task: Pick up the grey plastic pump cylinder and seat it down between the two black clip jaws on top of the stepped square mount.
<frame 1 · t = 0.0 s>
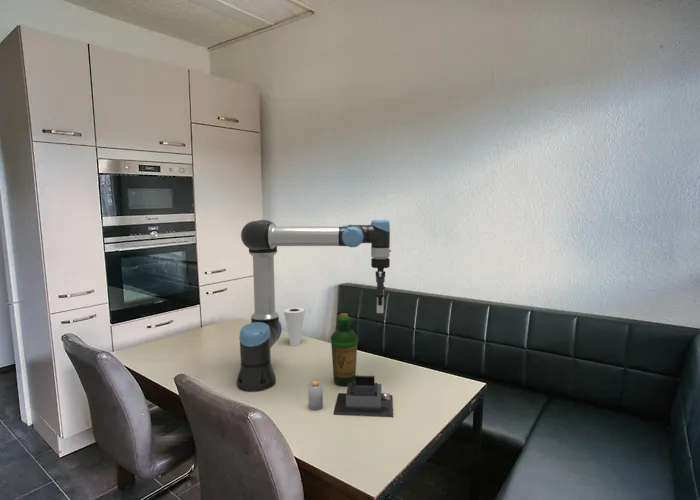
hand: (380, 308, 170), 28 cm above the table, fingers open, 13 cm apart
pump: (315, 406, 145), on the table
stepped square mount: (364, 405, 145), on the table
bottle: (344, 382, 165), on the table
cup: (295, 344, 210), on the table
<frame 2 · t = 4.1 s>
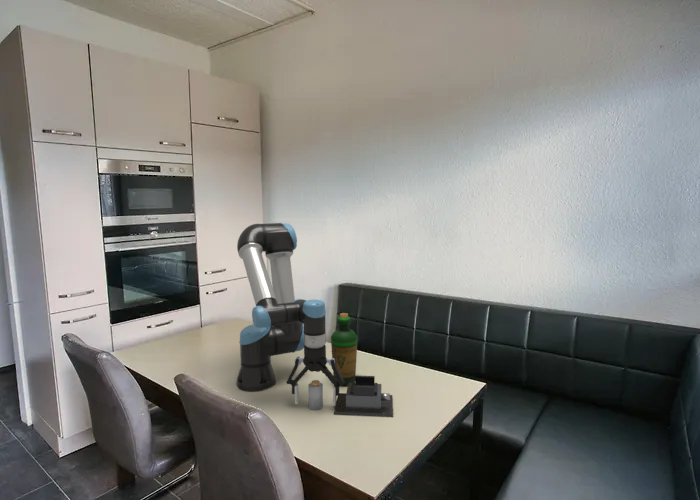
hand: (315, 403, 144), 1 cm above the table, fingers open, 13 cm apart
nothing on the table moved.
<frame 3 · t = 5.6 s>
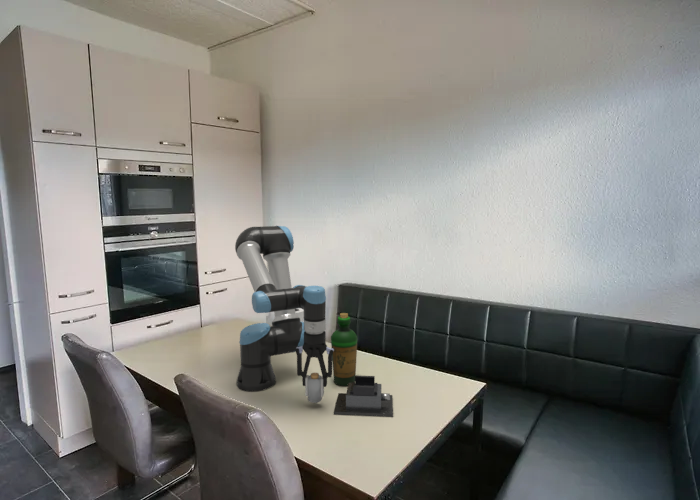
hand: (314, 394, 145), 4 cm above the table, fingers closed on pump, 5 cm apart
pump: (314, 399, 145), point 3 cm above the table, touching gripper
everything else where it was.
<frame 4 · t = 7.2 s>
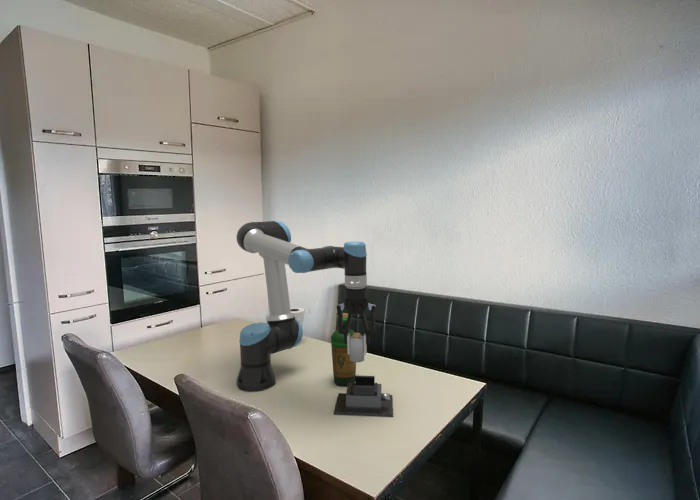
hand: (357, 352, 142), 20 cm above the table, fingers closed on pump, 5 cm apart
pump: (357, 359, 142), point 17 cm above the table, touching gripper
everything else where it was.
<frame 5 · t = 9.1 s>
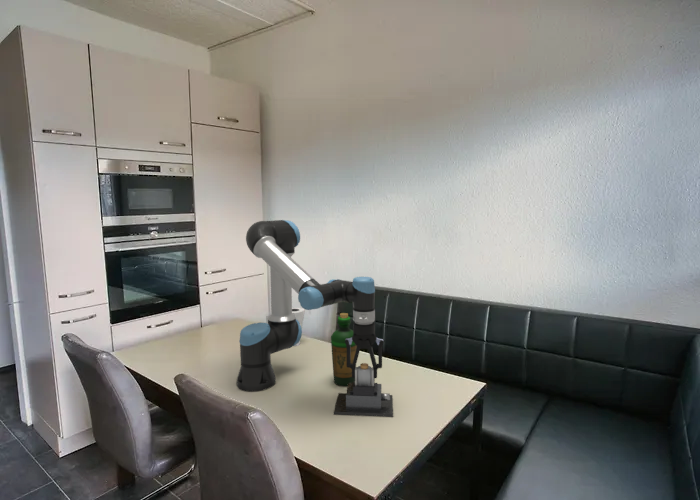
hand: (364, 386, 144), 7 cm above the table, fingers closed on pump, 5 cm apart
pump: (364, 389, 144), point 6 cm above the table, touching gripper, stepped square mount
everything else where it was.
when the fingers open (7 cm above the table, at t = 10.5 s): pump stays where it is, resting on stepped square mount.
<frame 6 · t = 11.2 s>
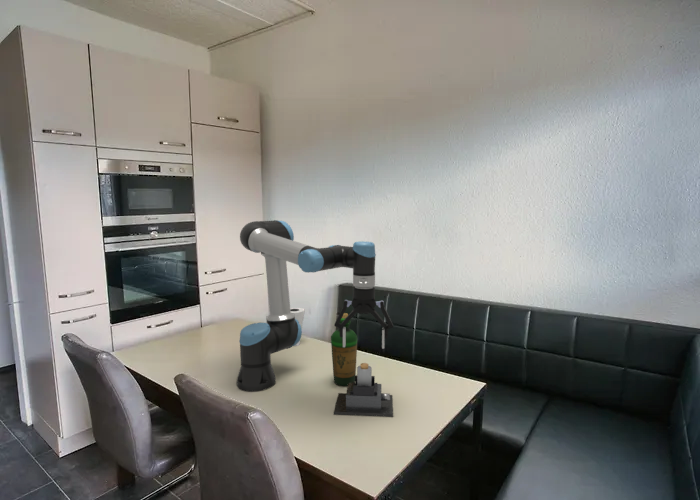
hand: (363, 346, 143), 21 cm above the table, fingers open, 13 cm apart
pump: (364, 389, 144), point 6 cm above the table, touching stepped square mount
everything else where it was.
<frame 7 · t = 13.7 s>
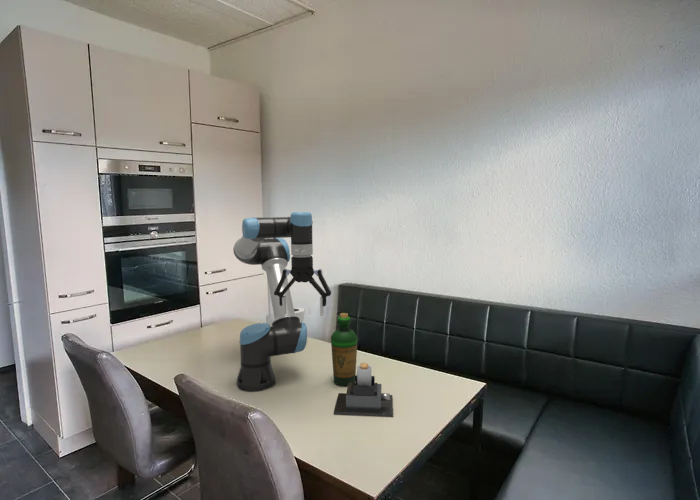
hand: (303, 314, 147), 32 cm above the table, fingers open, 13 cm apart
nothing on the table moved.
at the end: pump 0.2 cm off-centre on the stepped square mount, point 6.1 cm above the stepped square mount's base; pump tilted 1°; the gripper is holding nothing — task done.
